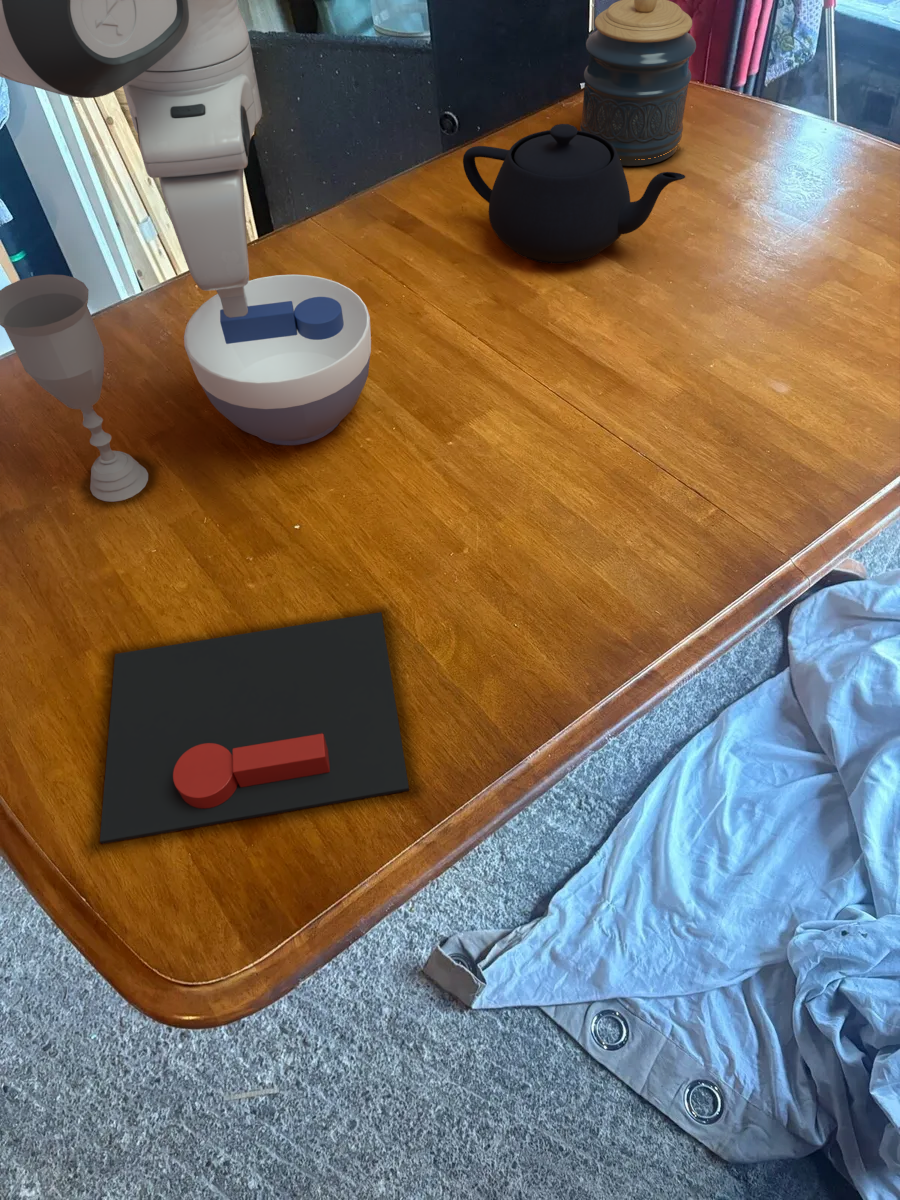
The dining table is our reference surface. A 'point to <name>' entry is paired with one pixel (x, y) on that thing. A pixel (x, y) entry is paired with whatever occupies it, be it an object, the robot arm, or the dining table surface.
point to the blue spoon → (285, 321)
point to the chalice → (68, 366)
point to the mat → (251, 721)
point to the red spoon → (245, 767)
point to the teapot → (561, 194)
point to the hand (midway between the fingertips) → (235, 279)
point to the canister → (638, 78)
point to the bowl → (283, 364)
